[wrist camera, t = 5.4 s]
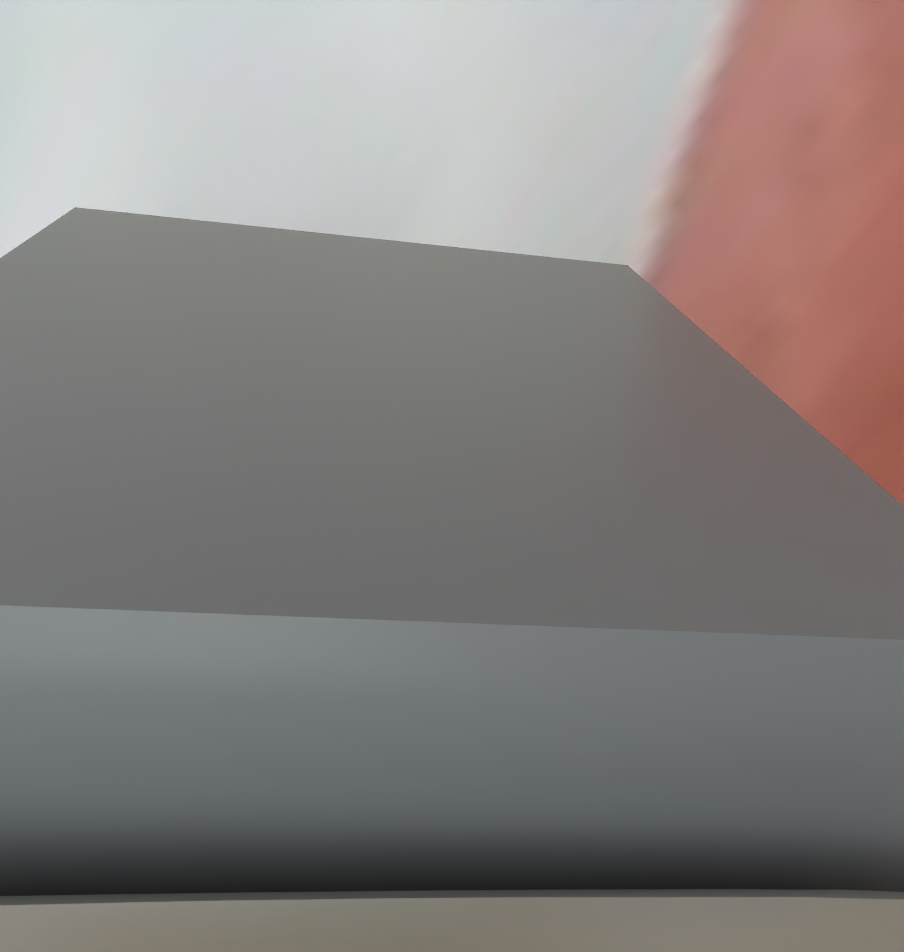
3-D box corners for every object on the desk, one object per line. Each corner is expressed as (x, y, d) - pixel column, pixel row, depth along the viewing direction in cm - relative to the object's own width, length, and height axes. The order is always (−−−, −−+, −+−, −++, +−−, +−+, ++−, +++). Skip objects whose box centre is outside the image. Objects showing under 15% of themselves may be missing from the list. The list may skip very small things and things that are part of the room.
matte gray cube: (75, 207, 12) (-483, 587, 4) (627, 265, 13) (1064, 647, 5) (105, 662, 15) (-153, 1346, 7) (537, 675, 16) (712, 1277, 8)
